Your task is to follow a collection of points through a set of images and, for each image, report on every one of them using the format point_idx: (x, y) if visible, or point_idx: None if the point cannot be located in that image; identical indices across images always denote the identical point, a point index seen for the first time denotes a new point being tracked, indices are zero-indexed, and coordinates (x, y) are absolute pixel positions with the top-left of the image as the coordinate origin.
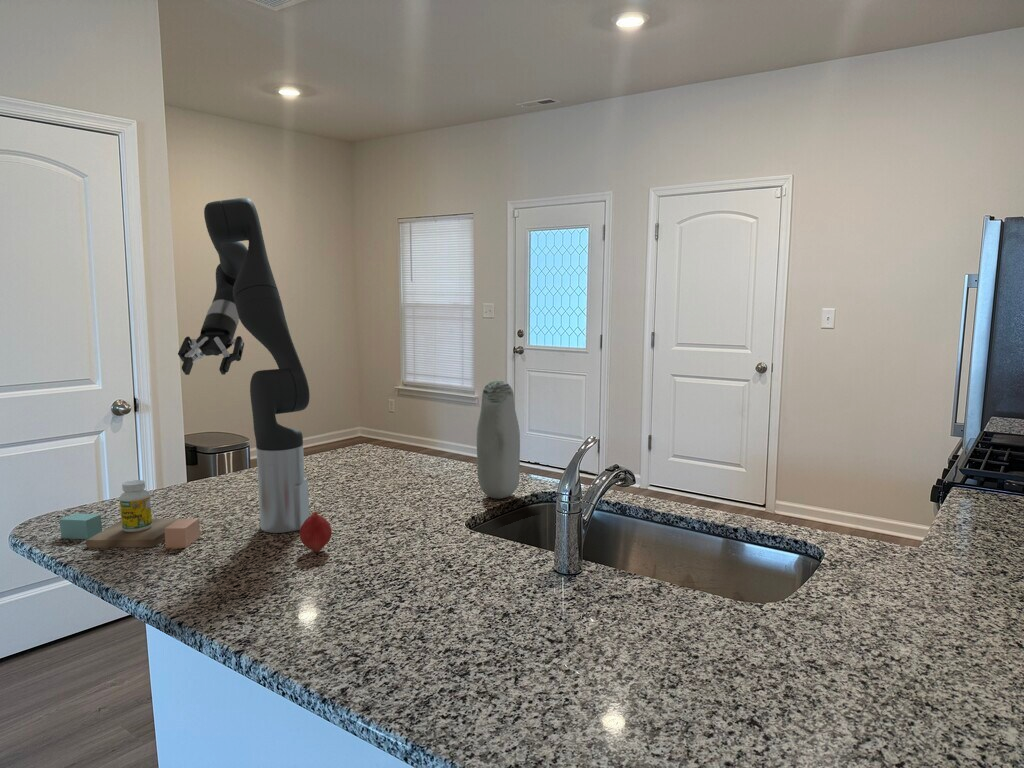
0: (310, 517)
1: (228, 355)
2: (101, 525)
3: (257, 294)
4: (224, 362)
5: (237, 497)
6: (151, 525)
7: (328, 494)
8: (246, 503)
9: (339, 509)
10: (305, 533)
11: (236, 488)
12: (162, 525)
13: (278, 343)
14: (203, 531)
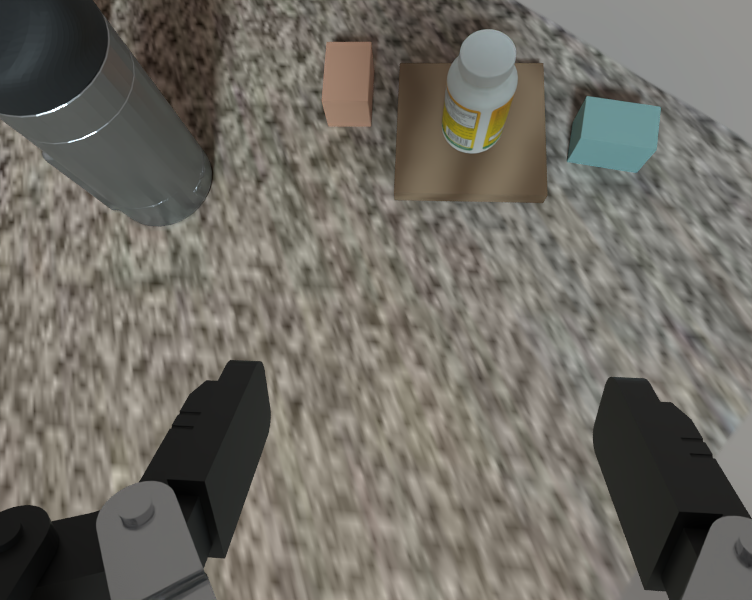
0: None
1: (121, 500)
2: (572, 152)
3: None
4: (198, 422)
5: (347, 438)
6: (442, 130)
7: (86, 447)
8: (301, 372)
9: (49, 299)
10: None
11: (385, 551)
12: (423, 145)
13: None
14: (334, 158)
